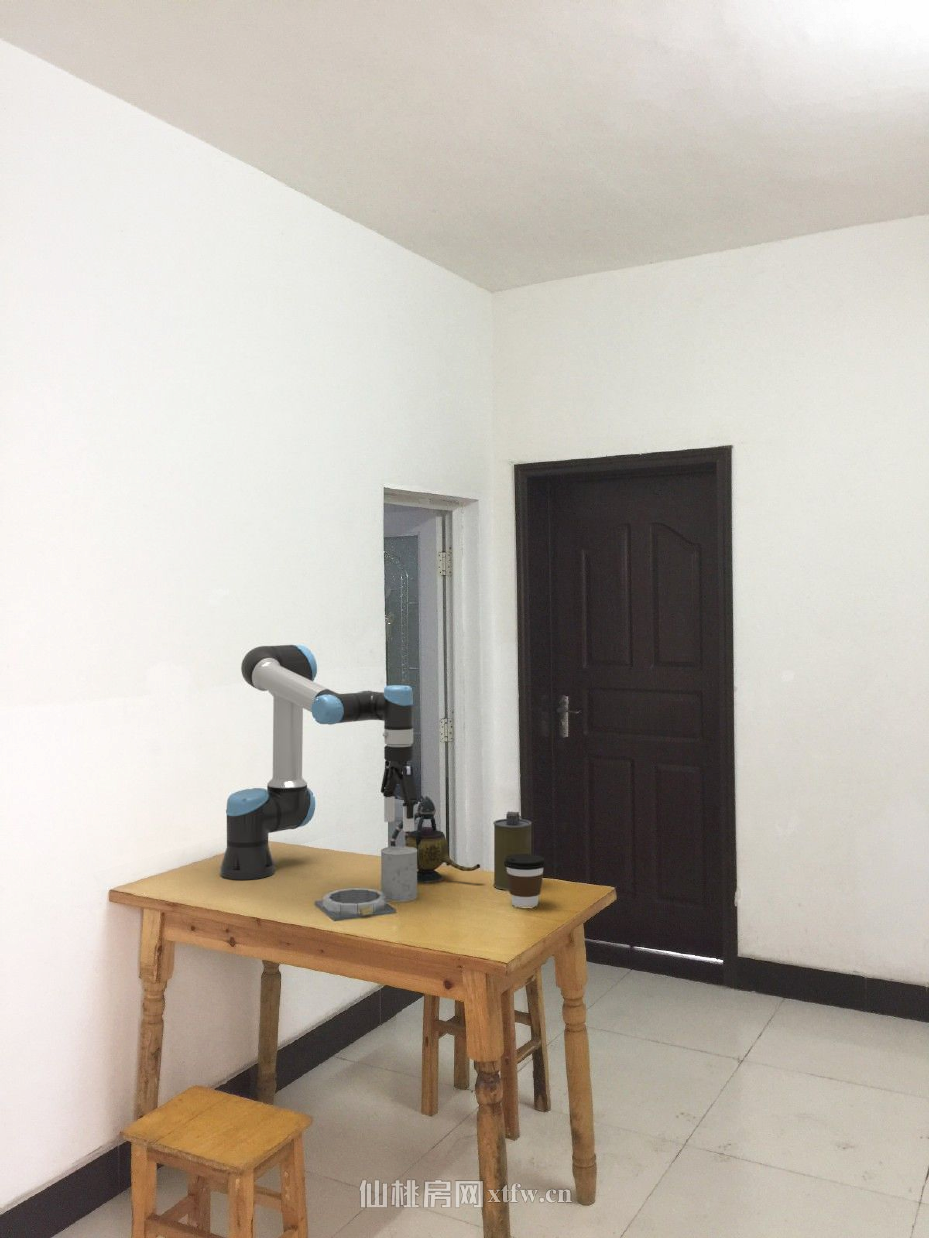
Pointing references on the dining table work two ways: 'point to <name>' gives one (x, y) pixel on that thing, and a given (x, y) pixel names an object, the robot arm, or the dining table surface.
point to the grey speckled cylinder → (399, 873)
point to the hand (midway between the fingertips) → (398, 826)
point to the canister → (509, 844)
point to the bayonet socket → (354, 903)
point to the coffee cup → (524, 878)
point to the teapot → (428, 845)
